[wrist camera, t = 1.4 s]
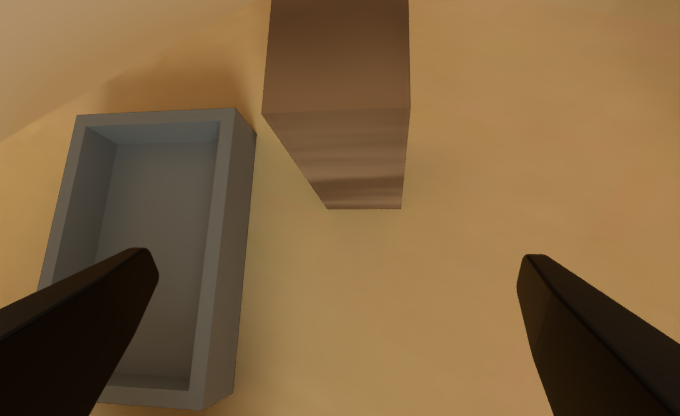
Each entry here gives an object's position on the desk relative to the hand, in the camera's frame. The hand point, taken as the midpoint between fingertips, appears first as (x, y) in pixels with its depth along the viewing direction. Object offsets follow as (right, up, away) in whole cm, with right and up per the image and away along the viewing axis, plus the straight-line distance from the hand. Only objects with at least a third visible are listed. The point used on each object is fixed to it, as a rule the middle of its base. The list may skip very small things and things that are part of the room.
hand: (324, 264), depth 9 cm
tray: (-11, -1, +15) cm, 18 cm away
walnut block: (+2, +3, +14) cm, 15 cm away
